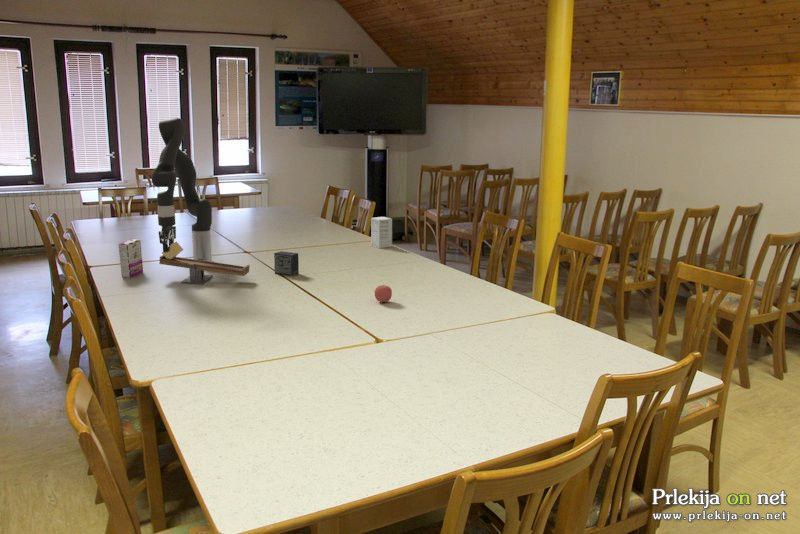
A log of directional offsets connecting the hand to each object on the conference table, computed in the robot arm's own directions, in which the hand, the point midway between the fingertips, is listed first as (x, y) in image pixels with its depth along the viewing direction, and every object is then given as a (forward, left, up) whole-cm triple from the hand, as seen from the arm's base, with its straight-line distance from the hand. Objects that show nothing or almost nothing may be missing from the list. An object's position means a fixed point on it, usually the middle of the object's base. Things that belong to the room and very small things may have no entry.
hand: (168, 250), depth 317 cm
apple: (+22, +103, -14) cm, 106 cm away
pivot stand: (0, +13, -14) cm, 19 cm away
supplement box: (-91, +90, -14) cm, 129 cm away
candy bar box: (-5, -21, -14) cm, 26 cm away
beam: (0, +17, -8) cm, 19 cm away
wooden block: (0, -1, -3) cm, 3 cm away
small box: (-19, +51, -14) cm, 56 cm away
